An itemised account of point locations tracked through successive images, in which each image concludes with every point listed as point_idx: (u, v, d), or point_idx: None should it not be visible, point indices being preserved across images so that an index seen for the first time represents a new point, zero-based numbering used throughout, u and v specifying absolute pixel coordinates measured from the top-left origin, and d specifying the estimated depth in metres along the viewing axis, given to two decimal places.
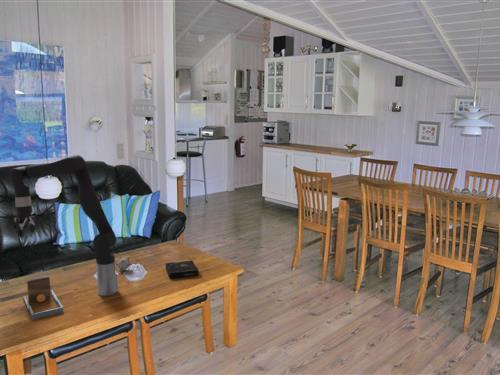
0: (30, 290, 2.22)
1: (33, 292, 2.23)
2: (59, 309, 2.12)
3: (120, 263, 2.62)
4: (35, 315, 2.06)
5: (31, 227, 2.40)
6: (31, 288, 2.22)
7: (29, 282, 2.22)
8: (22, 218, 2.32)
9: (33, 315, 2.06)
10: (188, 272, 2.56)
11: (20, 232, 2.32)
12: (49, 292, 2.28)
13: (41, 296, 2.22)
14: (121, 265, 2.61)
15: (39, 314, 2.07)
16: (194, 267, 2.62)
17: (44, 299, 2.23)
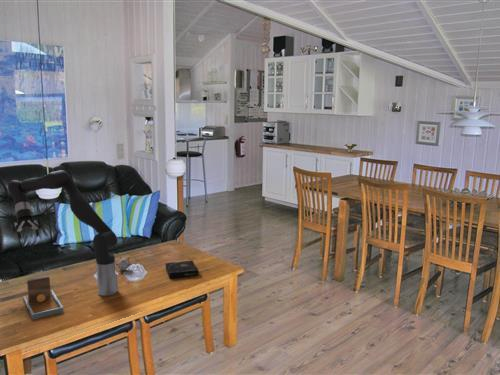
0: (30, 290, 2.22)
1: (33, 292, 2.23)
2: (59, 309, 2.12)
3: (120, 263, 2.62)
4: (35, 315, 2.06)
5: (35, 232, 2.39)
6: (31, 288, 2.22)
7: (29, 282, 2.22)
8: (19, 222, 2.37)
9: (33, 315, 2.06)
10: (188, 272, 2.56)
11: (18, 234, 2.33)
12: (49, 292, 2.28)
13: (41, 296, 2.22)
14: (121, 265, 2.61)
15: (39, 314, 2.07)
16: (194, 267, 2.62)
17: (44, 299, 2.23)
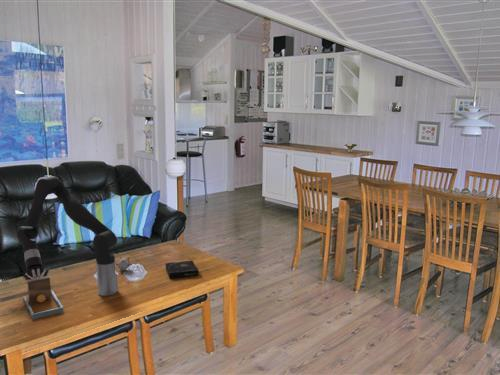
0: (30, 291, 2.22)
1: (33, 293, 2.22)
2: (59, 309, 2.12)
3: (120, 263, 2.62)
4: (35, 315, 2.06)
5: None
6: (31, 289, 2.22)
7: (29, 283, 2.21)
8: (29, 273, 2.29)
9: (33, 315, 2.06)
10: (188, 272, 2.56)
11: None
12: (49, 293, 2.27)
13: (41, 297, 2.22)
14: (121, 265, 2.61)
15: (39, 314, 2.07)
16: (194, 267, 2.62)
17: (44, 300, 2.23)
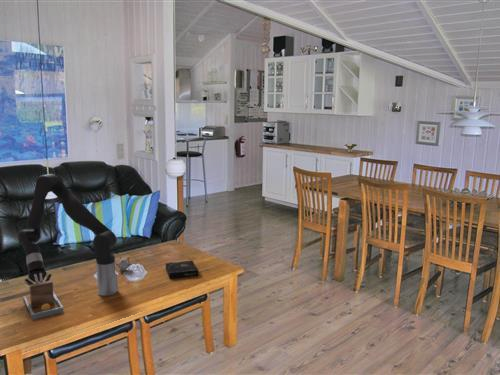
0: (33, 296, 2.16)
1: (35, 298, 2.17)
2: (59, 309, 2.12)
3: (120, 263, 2.62)
4: (35, 315, 2.06)
5: None
6: (33, 294, 2.16)
7: (32, 288, 2.15)
8: (31, 277, 2.23)
9: (33, 315, 2.06)
10: (188, 272, 2.56)
11: None
12: (52, 298, 2.21)
13: (46, 305, 2.12)
14: (121, 265, 2.61)
15: (39, 314, 2.07)
16: (194, 267, 2.62)
17: (49, 308, 2.13)
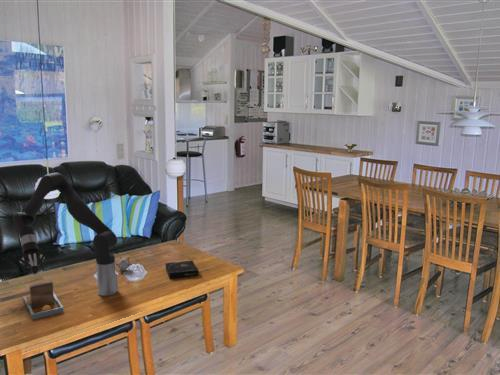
0: (33, 296, 2.16)
1: (35, 298, 2.17)
2: (59, 309, 2.12)
3: (120, 263, 2.62)
4: (35, 315, 2.06)
5: None
6: (33, 294, 2.16)
7: (32, 288, 2.15)
8: (26, 257, 2.32)
9: (33, 315, 2.06)
10: (188, 272, 2.56)
11: (32, 269, 2.30)
12: (52, 298, 2.21)
13: None
14: (121, 265, 2.61)
15: (39, 314, 2.07)
16: (194, 267, 2.62)
17: None
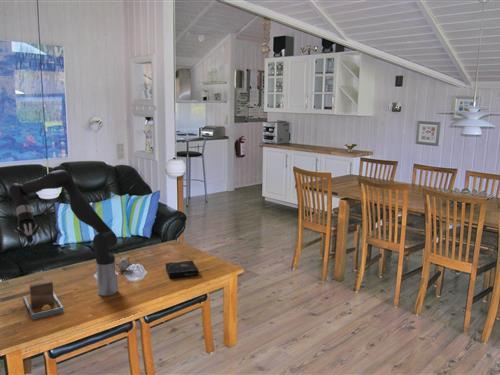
0: (33, 296, 2.16)
1: (35, 298, 2.17)
2: (59, 309, 2.12)
3: (120, 263, 2.62)
4: (35, 315, 2.06)
5: None
6: (33, 294, 2.16)
7: (32, 288, 2.15)
8: (21, 227, 2.36)
9: (33, 315, 2.06)
10: (188, 272, 2.56)
11: (27, 238, 2.35)
12: (52, 298, 2.21)
13: (47, 309, 2.11)
14: (121, 265, 2.61)
15: (39, 314, 2.07)
16: (194, 267, 2.62)
17: None
